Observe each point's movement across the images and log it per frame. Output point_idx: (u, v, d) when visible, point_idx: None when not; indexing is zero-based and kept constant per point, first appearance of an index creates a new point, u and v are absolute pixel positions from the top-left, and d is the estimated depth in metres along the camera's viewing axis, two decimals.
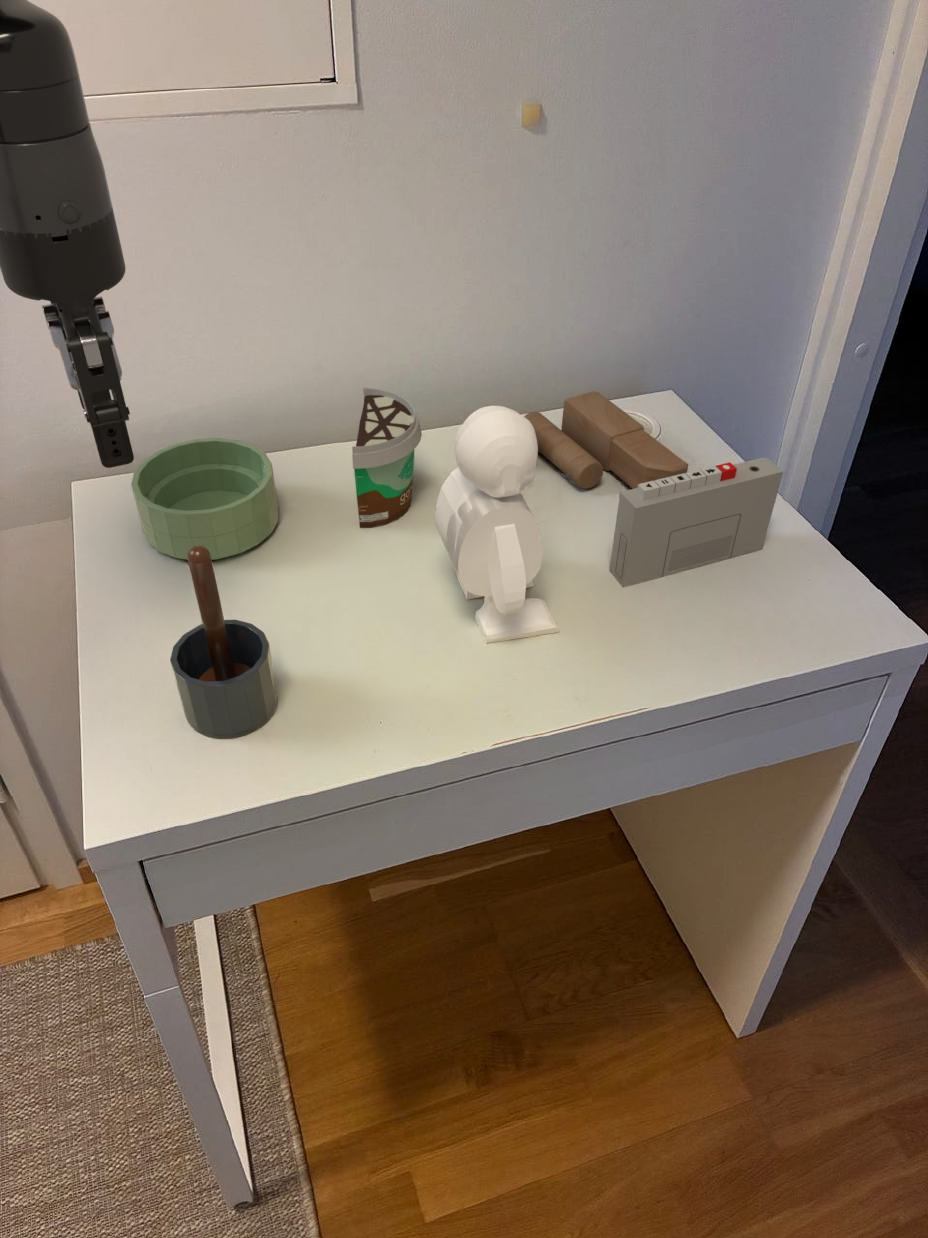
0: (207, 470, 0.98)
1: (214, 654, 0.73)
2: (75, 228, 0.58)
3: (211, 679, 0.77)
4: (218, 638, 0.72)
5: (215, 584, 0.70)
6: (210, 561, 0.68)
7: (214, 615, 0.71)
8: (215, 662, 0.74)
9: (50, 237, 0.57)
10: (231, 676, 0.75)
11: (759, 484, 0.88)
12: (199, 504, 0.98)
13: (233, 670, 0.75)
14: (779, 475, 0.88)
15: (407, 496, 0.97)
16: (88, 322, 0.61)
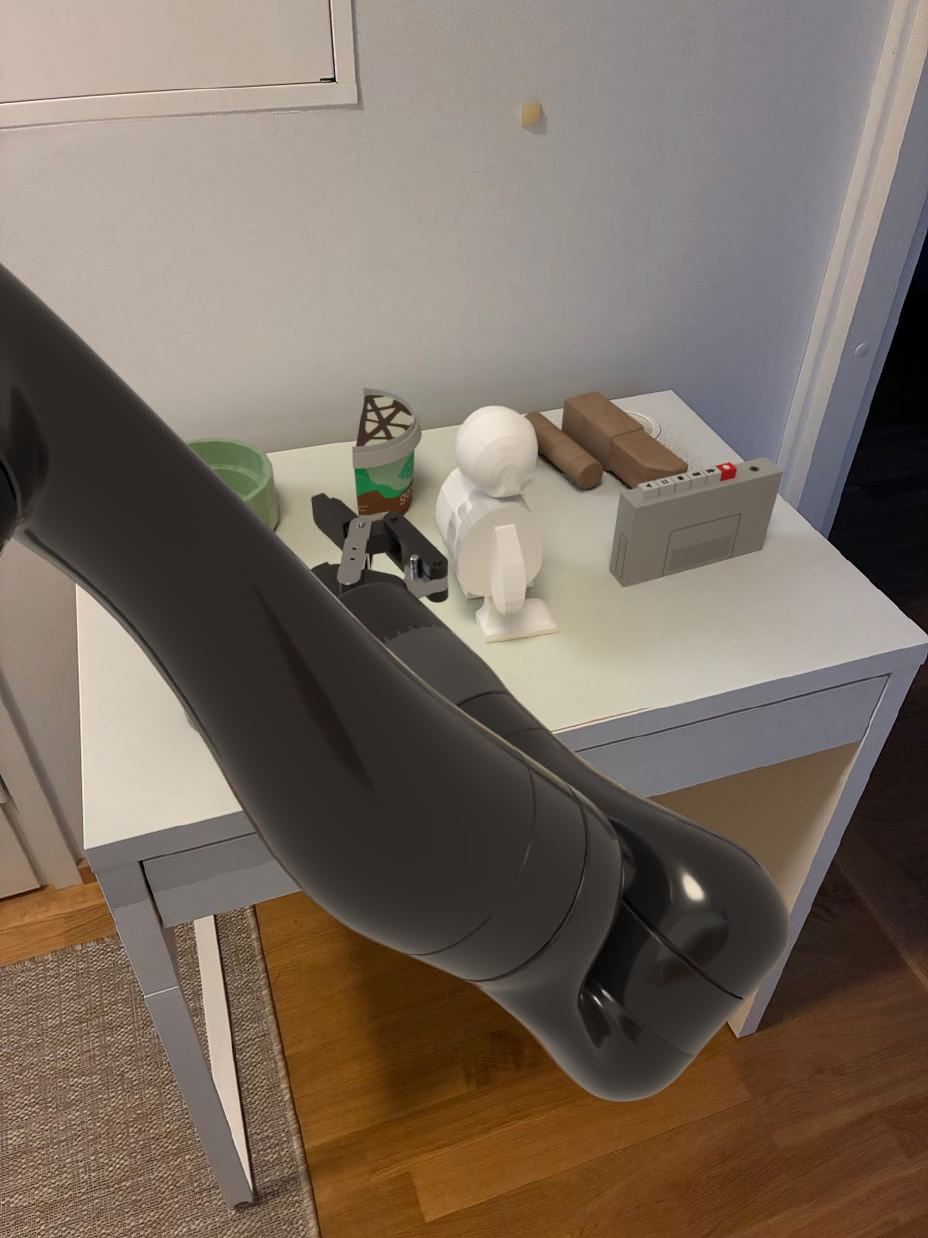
0: None
1: None
2: None
3: None
4: None
5: None
6: None
7: None
8: None
9: None
10: None
11: (759, 484, 0.88)
12: None
13: None
14: (779, 475, 0.88)
15: (407, 496, 0.97)
16: None
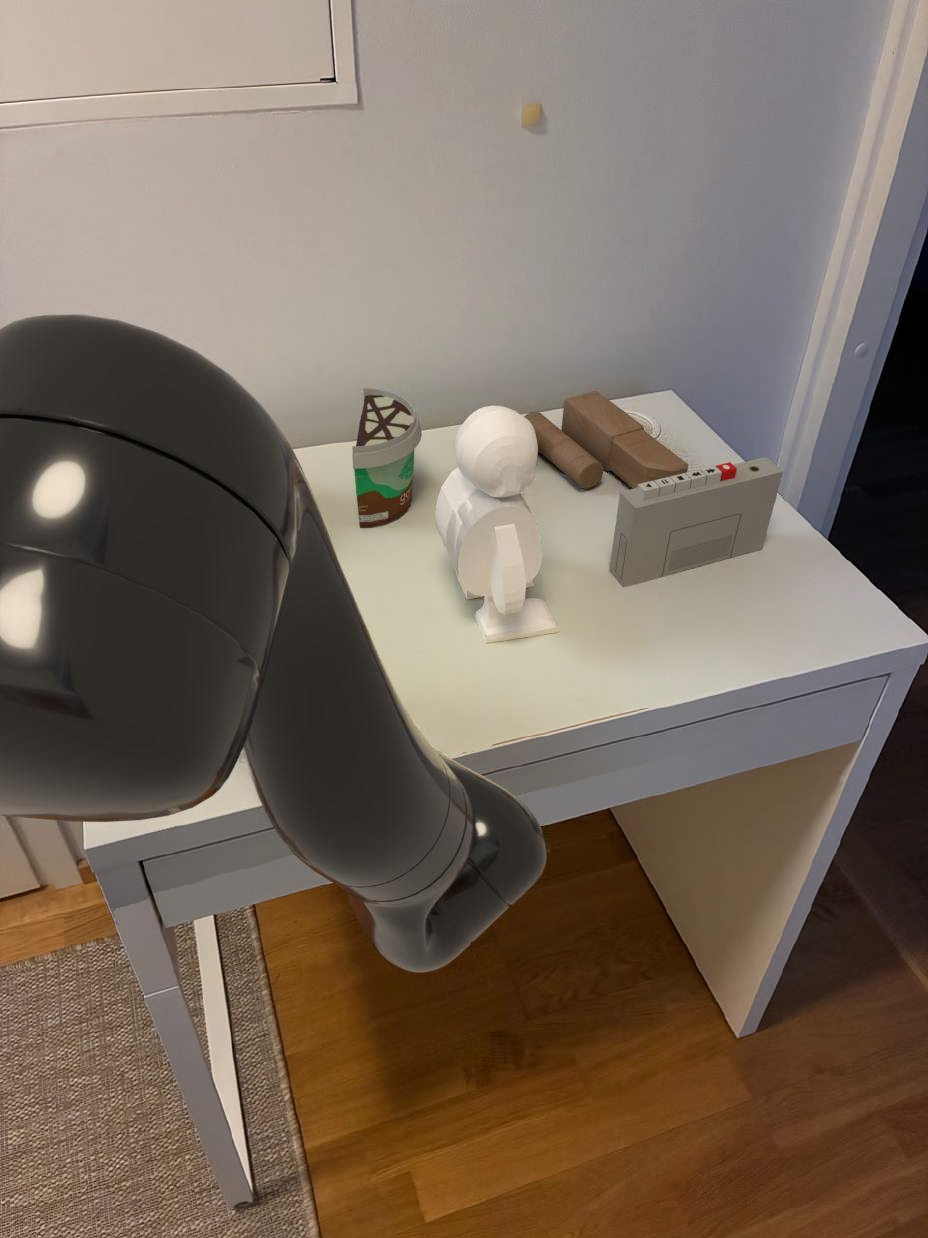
0: None
1: None
2: None
3: None
4: None
5: None
6: None
7: None
8: None
9: None
10: None
11: (759, 484, 0.88)
12: None
13: None
14: (779, 475, 0.88)
15: (407, 496, 0.97)
16: None
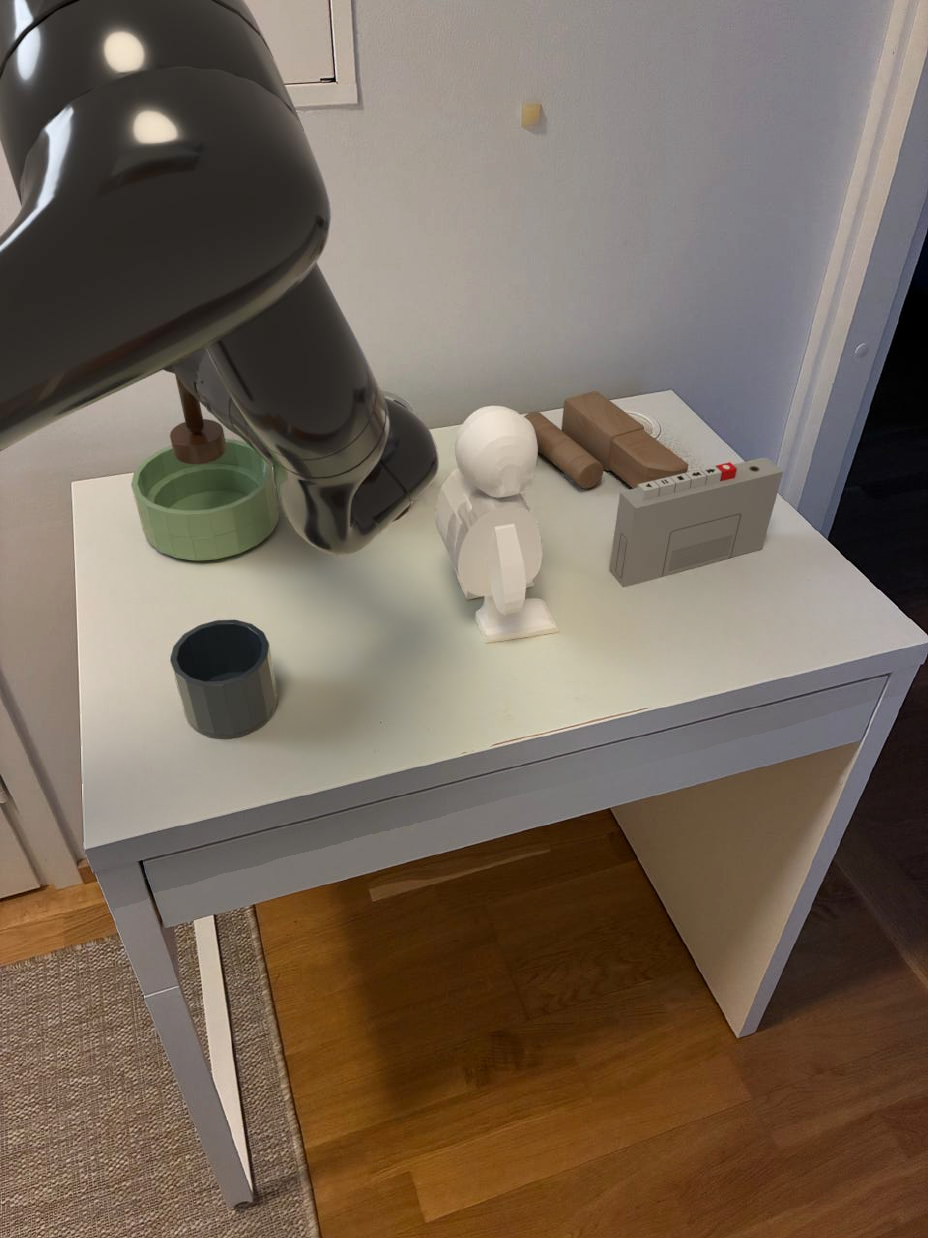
0: (207, 470, 0.98)
1: (184, 397, 0.85)
2: (202, 401, 0.71)
3: (183, 429, 0.88)
4: None
5: None
6: None
7: None
8: (185, 406, 0.86)
9: (195, 381, 0.70)
10: (199, 422, 0.87)
11: (759, 484, 0.88)
12: (199, 504, 0.98)
13: (201, 417, 0.87)
14: (779, 475, 0.88)
15: None
16: None
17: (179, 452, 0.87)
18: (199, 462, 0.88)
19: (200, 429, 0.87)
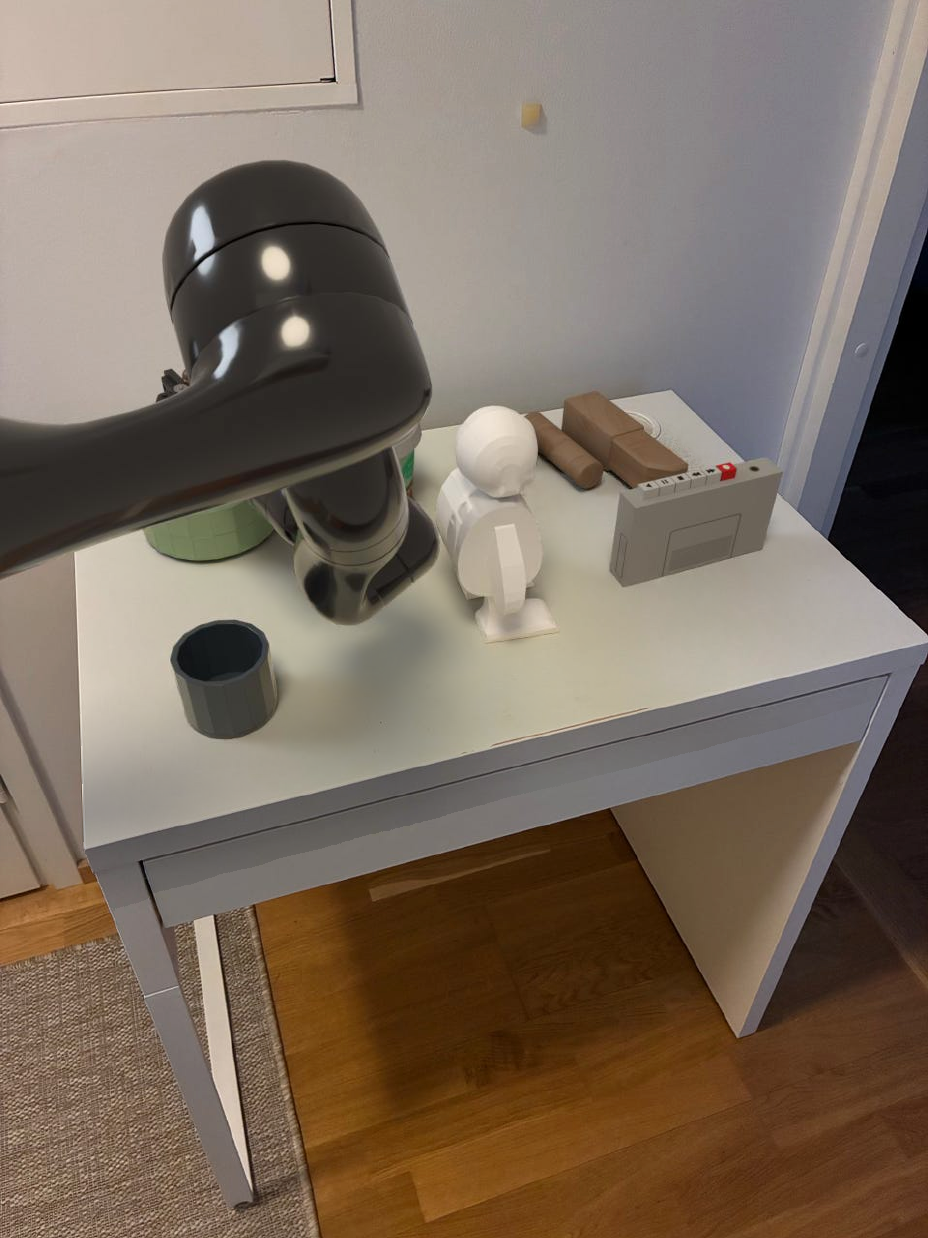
0: None
1: None
2: None
3: None
4: None
5: None
6: None
7: None
8: None
9: None
10: None
11: (759, 484, 0.88)
12: None
13: None
14: (779, 475, 0.88)
15: None
16: None
17: None
18: None
19: None
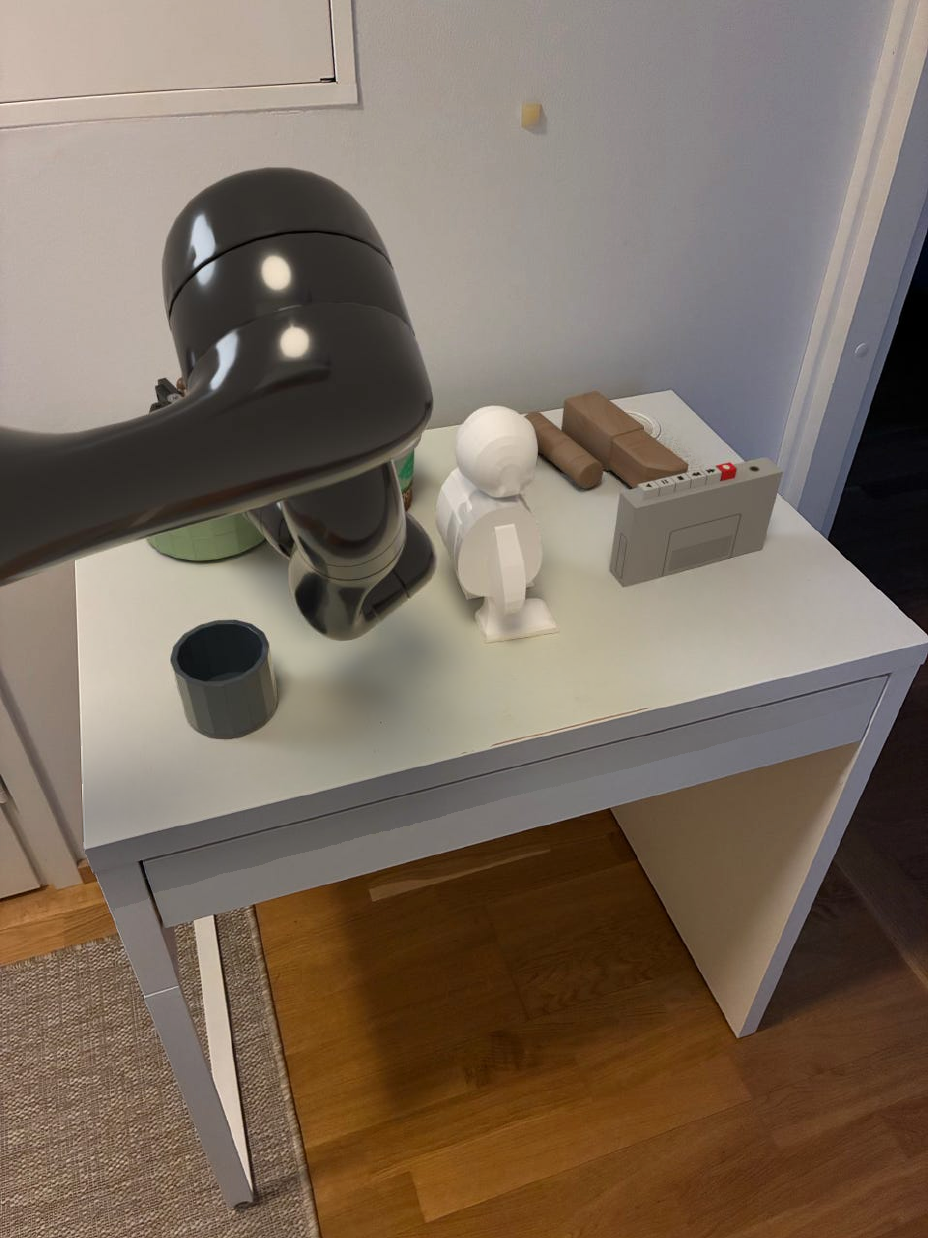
0: None
1: None
2: None
3: None
4: None
5: None
6: None
7: None
8: None
9: None
10: None
11: (759, 484, 0.88)
12: None
13: None
14: (779, 475, 0.88)
15: (407, 496, 0.97)
16: None
17: None
18: None
19: None
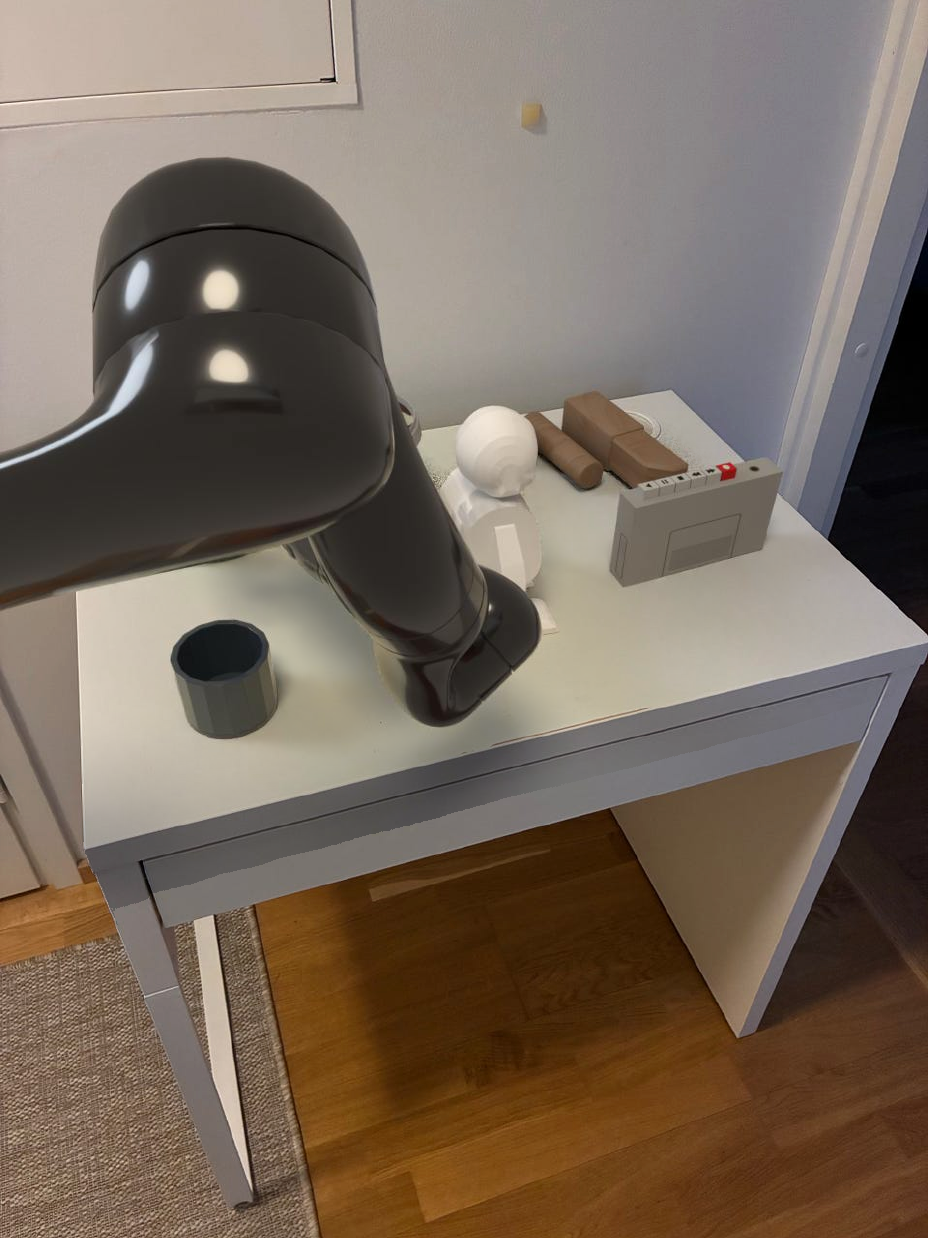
0: None
1: None
2: (284, 546, 0.69)
3: None
4: None
5: None
6: None
7: None
8: None
9: None
10: None
11: (759, 484, 0.88)
12: None
13: None
14: (779, 475, 0.88)
15: None
16: None
17: None
18: None
19: None
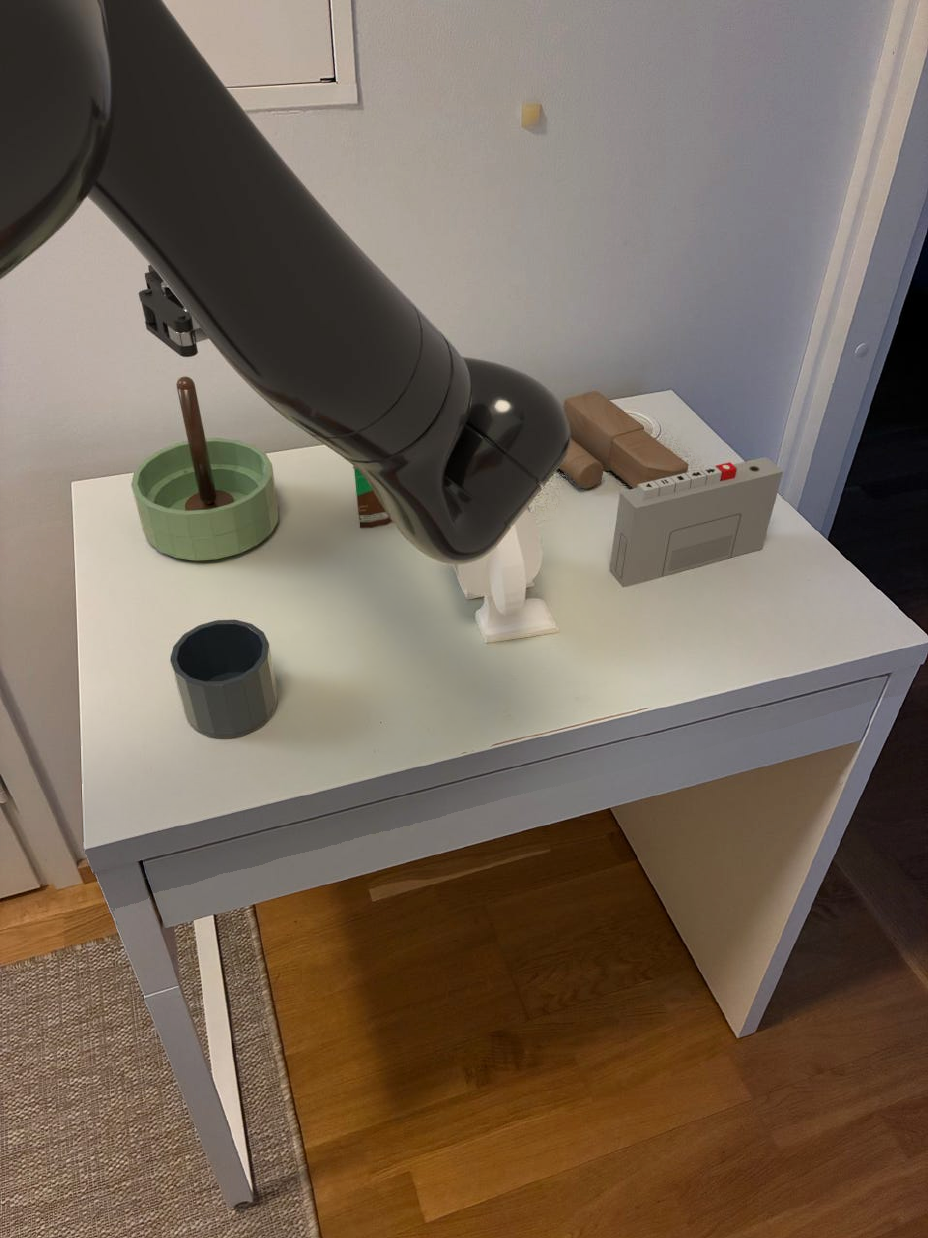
0: None
1: (198, 473, 0.92)
2: None
3: (197, 500, 0.95)
4: (201, 459, 0.91)
5: (199, 410, 0.88)
6: (194, 389, 0.86)
7: (198, 437, 0.89)
8: (199, 481, 0.92)
9: None
10: (212, 495, 0.94)
11: (759, 484, 0.88)
12: None
13: (214, 490, 0.94)
14: (779, 475, 0.88)
15: None
16: None
17: None
18: None
19: (213, 501, 0.94)
